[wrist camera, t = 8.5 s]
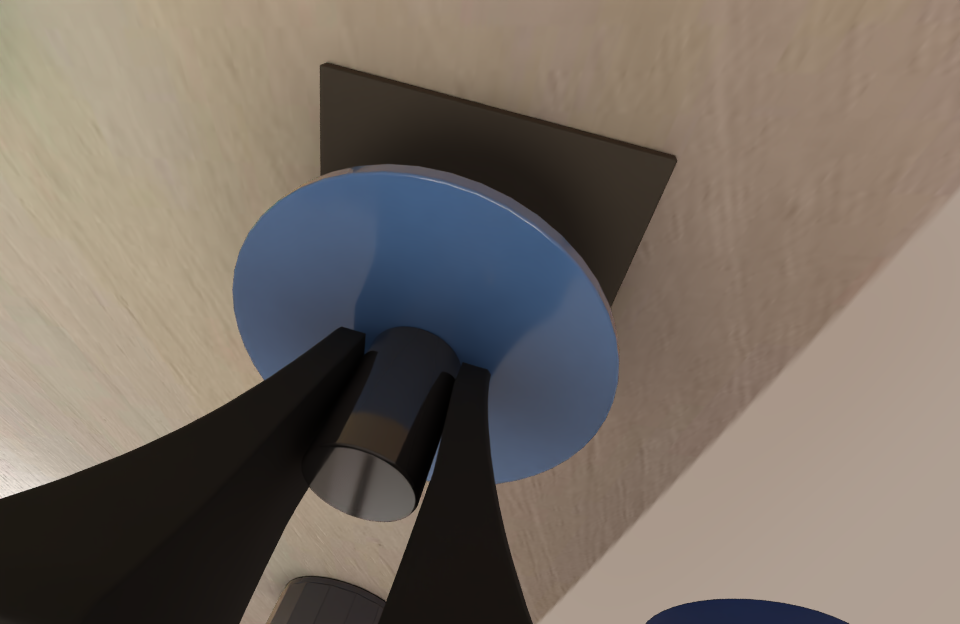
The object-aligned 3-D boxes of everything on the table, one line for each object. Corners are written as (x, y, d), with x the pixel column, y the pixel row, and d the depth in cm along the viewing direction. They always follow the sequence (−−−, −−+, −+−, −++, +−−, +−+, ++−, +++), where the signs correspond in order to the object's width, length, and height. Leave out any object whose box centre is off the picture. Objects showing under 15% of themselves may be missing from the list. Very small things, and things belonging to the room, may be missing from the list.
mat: (676, 155, 13) (677, 160, 13) (565, 400, 19) (565, 408, 19) (325, 62, 14) (319, 64, 13) (325, 329, 20) (320, 335, 20)
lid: (690, 225, 10) (739, 386, 6) (553, 490, 16) (537, 654, 12) (237, 100, 10) (32, 182, 7) (269, 404, 16) (170, 535, 13)
